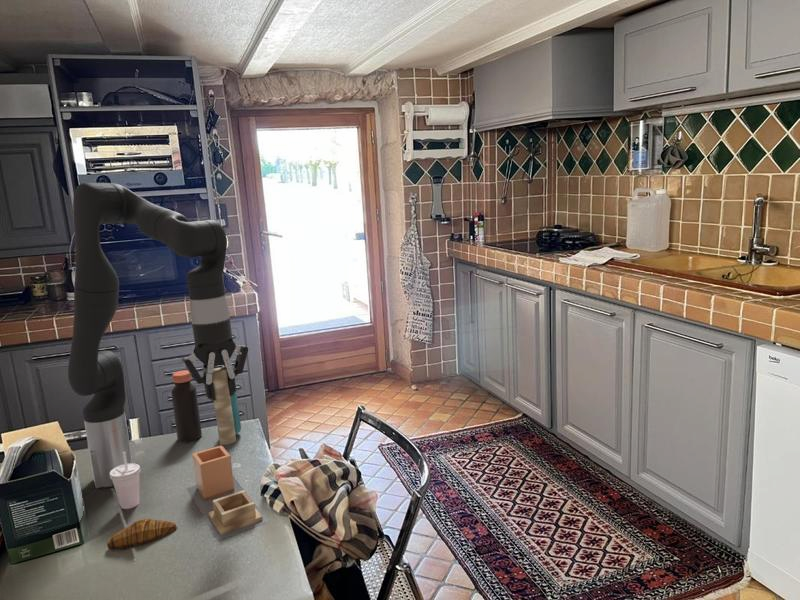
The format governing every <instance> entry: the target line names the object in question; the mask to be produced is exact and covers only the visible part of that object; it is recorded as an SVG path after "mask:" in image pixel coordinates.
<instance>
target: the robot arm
mask: <svg viewBox="0 0 800 600" xmlns="http://www.w3.org/2000/svg"><path fill="white" fill-rule="evenodd" d="M72 200H73V202H72V208H73V209H72V211H73V225H74V238H75V271H74V272H75V273H74V275H75V276H74V291H73V292H74V293H73V303H74V304H73V308H74V309H73V311H74V312H73V313H74V314H73V325H72V326H73V328H72V329H73V330H72V340H71V344H70V345H71V346H70V354H69V359H68V366H67V376H68V377H67V378H68V381H69V382H68V383H69V385H70V388H71V389H72V391H73V392H74V393H76V394H77V395H79V396H82V397H87V396H91V395H93V397H92V398H91V399H90V400H89V401H88V403H87V404H85V405H84V407H83V409H82V417H83V423H84V428H85V429H84V430H85V434H86V435H85V436H86V440H87V449H88V451H87V452H88V455H89V462H90V468H91V474H92V480H93V482H94V486H95V489H100V488H109V487H110V488H111V487H114V484H113V481H112V479H110V471H111V470H112V469H114V468H116V467H118V466H120V465H124V457H123V452H126V459H127V464H129V463H133V457H132V451H131V444H130V437H129V429H128V425H127V423H128V422H127V418H126V411H125V403H126V399H127V397H126V386H125V374H124V367H123V365H122V362H121V359H120V358H119V356H118V355H117V354H116V353H115V352H112V351H111V350H100V344H101V341H102V339H103V337H104V334H105V333H106V331H107V329H108V327H109V325H110V324H111V322H112V320H113V318H114V316H115V314H116V311H117V309H118V305H119V296H120V295H119V294H120V293H119V292H120V280H119V279H120V278H119V276H118V274H117V272H116V270H115V269H114V266H113V265H112V263H111V262H110V260H108V259H109V258H107V257H106V254H105V253H104V251H103V249H102V246H101V240H100V226H101V225H114V224H115V225H116V224H121V223H126V224H133V225H136V226H137V228H138V230H139V231H140V232H141V234H143V235H145V236H146V237H148V238H150V239H152V240H154V241H157V242H159V243H162V244H165V246H166V247H168V249H170V250H171V251H172V252H173V253H174V254H175V255H178V256H180V257H183V258H188V259H190V258H192V259H193V258H198V257H201V259H200V263H199V265H198V266H197V267H196V268H193V269H191V270H189V271H188V272H187V274H186V283H187V290H188V298H189V313H190V319H191V326H192V327H191V328H192V333H193V341H194V349H193V352H192V354H190V355H188V356H184V357H182V358H181V363H183V365H184V367H185V368H186V371H189V373H190V374H191V379H193V381H194V382H196V384H199V385H200V384H202V385H203V384H204V385H203V386H204V392H205V396H206V398H207V399H209V400H210V401H211V402H214V400H215V392H214V385H213V383H212V374H213V370H214V369H215V368H217V367H218V366H222V367H221V368H225V369H226V371H227V377H228V384H229V391H230V396H233V395H234V392H236V391H237V384H236V377H237V376H238V375H242V374H243V372H244V369H245V364H246V360H247V358H248V357H247V356H248V351H249V347H248V346H246V345H244V344H236V343H235V342H234V339H233V331H232V325H231V318H230V317H231V314H230V309H229V304H228V303H229V302H228V301H227V296H226V290H225V289H226V288H225V282H224V281H225V280H224V269H225V263H226V254H227V245H228V240H227V239H228V238H227V234H226V231H225V229H224V227H223V226H222V224H220V222H218V221H217V220H214V219H205V220H204V219H203V220H194V221H190V220H189V219H188V218H187V217H186V216H185V215H183V214H181V213H179V212H177V211H174V210H172V209H168V208H166V207H163V206H160V205H157V204H155V203H152V202H150V201H148V200H147V199H146V198H143V197H141V196H139V195H138V194H136V193H135V192H133V191H132V190H130V189H129V188H127V187H126V186H123V185H121V184H118V183H116V182H115V183H112V182H82V183H79V185H77V187H76V189H75V190H74V194H73V199H72ZM99 350H100V351H99ZM234 352H235V354H236V357H235V361H234V362H235V363H234V365H232V364H233V363H232V362H231V358H232V355H233V354H234ZM196 359H198V360H199V362H201V363H202V372H203V373H202V376H201V375H200V373H199V371H198V370H197V369H196V367H195V365H196V364H197V362H196ZM235 384H236V385H235Z"/></svg>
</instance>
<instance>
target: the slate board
mask: <svg viewBox="0 0 800 600" xmlns="http://www.w3.org/2000/svg"><path fill="white" fill-rule="evenodd" d="M233 482H234V491H232V492H229V493H226V494H223V495H220V496H217V497H214V498H211V499H208V500H204V499H203V497H202V496H201V494H200V492H199V491H198V489H197V486H196V485H192V486H190V487H187V488H186V489H187V491H188V493H189V494H190V496H191V498H192V500H193V501H194V503H195V505H196V506H197V508H198V509H199V511H200V513H201V515H202V517H203V518H204V520H205V521H206V523H207V524H208V526H209V528H210V530H211V531H212V533H213V535H214V536H215V538H216V539H217V541H218V542H219V541H222V540H224V539H227V538H230V537H232V536H236V535H237V534H240V533H243V532H246V531H248V530H251V529H254V528H257V527H259V526H261V525H265V524H266V523H269V522H270V520H269V519H268V517H267V516H266V515H265V514H264V513H263V512H262V511H261V509H260V508H259V507H258V505H257V504H256V503H255V502H254V500H253V499H252V498H251V496H250V495H249V494H248V493H247V491H245V489H244V488H243V486H242V485H241V484H240V483H239V481H238V480H237V479H236V478H235V476H234V475H233ZM243 490H244V491H245V492H246V493H247V495H248V496H249V497H250V498H251V500H252V501H253V502H254V503H255V508H256V509H257V511H258V512H259V513H260V514H261V516H262V520H261V521H258V522H255V523H253V524H250V525H247V526H245V527H242V528H239V529H236V530H234V531H231V532H228V533H226V534H223V535H220V533H219V531H218V530H217V528H216V527H215V525H214V523H213V522H212V520H211V518H210V517H209V513H208V512H211V511H214V507H213V500H216V499H219V498H222V497H225V496H228V495H231V494H234V493H237V492H240V491H243Z"/></svg>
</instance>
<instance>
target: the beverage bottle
mask: <svg viewBox="0 0 800 600" xmlns="http://www.w3.org/2000/svg"><path fill="white" fill-rule="evenodd" d="M235 385H236V386H237V384H236V383H235ZM230 399H231V406H232V413H233V421H234V428H235V435H236V434H238V433H240V432H241V430H242V424H241V415H240V409H239V408H240V407H239V402H238V392H237V390H236V392H234V395H233V396H230Z"/></svg>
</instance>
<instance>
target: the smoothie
mask: <svg viewBox="0 0 800 600" xmlns="http://www.w3.org/2000/svg"><path fill="white" fill-rule="evenodd" d="M123 457H124V465H120V466H118V467H116V468H114V469H112V470H111V471H110V479H112V481H113V483H112V484H113V488H114V490H115V494H116V496H117V499H118V502H119V504H120V508H121V509H124V510H129V509H133V508H135V507H136V506H139V504H140V473H141V466H140V465H139V464H138V463H135V462H134V463H129V464H127V459H126V452H123Z"/></svg>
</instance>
